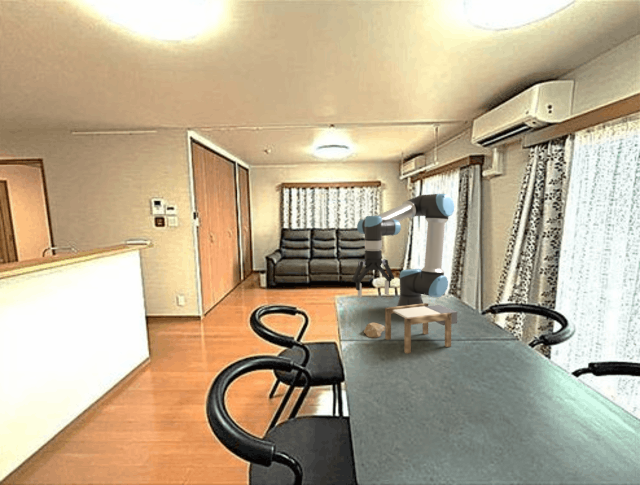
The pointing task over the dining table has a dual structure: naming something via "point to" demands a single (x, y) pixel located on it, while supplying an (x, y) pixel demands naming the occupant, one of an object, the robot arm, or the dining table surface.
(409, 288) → the robot arm
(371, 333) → the stone
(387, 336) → the frame
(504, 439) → the dining table surface
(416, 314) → the trapdoor
